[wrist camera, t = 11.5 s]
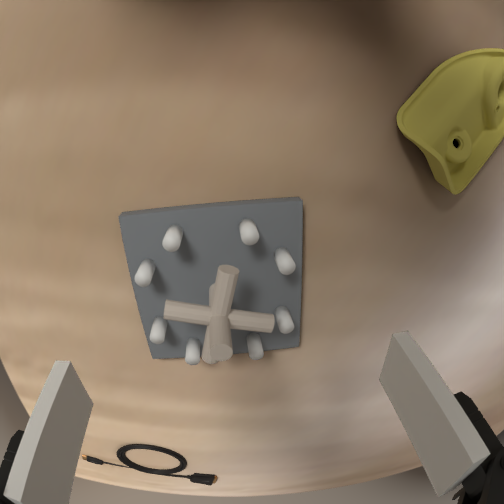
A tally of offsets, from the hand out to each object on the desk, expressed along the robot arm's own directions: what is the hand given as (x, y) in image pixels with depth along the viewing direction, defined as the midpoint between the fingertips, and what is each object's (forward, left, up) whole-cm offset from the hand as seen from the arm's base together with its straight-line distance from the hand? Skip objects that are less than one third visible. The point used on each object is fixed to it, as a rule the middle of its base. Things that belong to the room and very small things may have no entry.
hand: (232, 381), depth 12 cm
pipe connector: (+8, -1, -21) cm, 22 cm away
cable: (+45, -19, -23) cm, 54 cm away
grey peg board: (+8, -1, -22) cm, 23 cm away
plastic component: (-12, +29, -22) cm, 39 cm away
